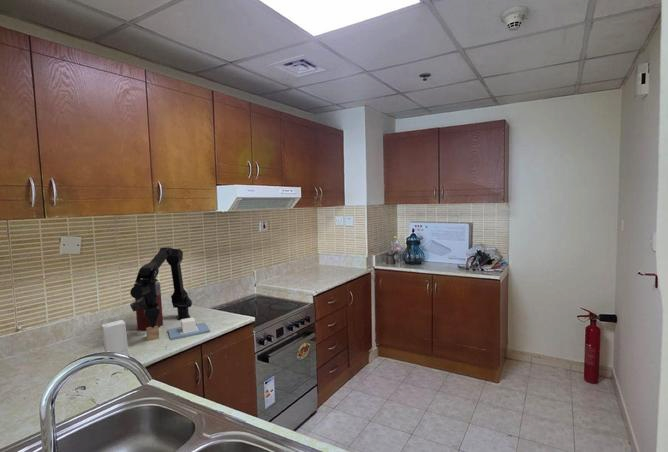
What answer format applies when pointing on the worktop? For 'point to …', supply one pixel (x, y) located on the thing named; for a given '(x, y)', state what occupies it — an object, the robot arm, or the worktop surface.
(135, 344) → the worktop surface
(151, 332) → the walnut block
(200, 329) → the board
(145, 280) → the robot arm
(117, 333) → the skincare box
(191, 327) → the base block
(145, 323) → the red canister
